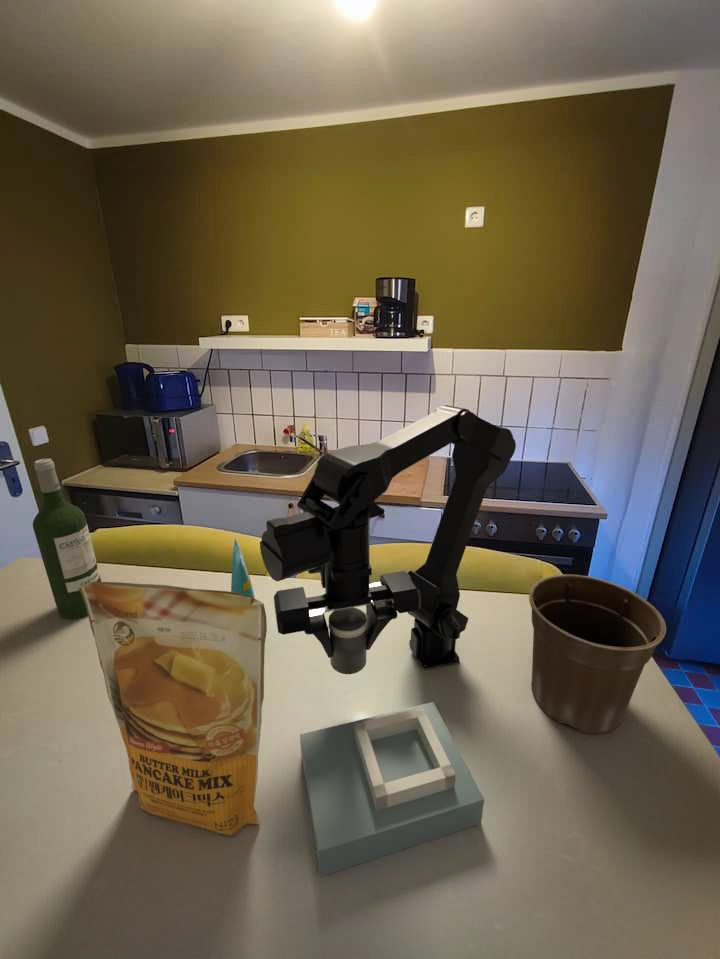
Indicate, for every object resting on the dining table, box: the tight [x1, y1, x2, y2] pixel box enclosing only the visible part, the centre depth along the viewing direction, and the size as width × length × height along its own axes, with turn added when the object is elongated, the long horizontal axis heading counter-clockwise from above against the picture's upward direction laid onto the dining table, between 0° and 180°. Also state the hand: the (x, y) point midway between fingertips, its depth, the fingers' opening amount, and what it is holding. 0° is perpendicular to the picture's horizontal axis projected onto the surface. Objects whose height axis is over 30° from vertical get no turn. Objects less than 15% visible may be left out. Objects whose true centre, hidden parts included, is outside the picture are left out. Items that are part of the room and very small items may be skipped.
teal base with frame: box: [299, 701, 485, 878], centre depth 50 cm, size 18×13×6 cm
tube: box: [230, 536, 256, 599], centre depth 70 cm, size 7×5×19 cm, turn 27°
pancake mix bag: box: [78, 581, 268, 837], centre depth 45 cm, size 7×19×28 cm, turn 76°
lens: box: [328, 607, 367, 675], centre depth 58 cm, size 5×5×7 cm
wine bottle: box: [32, 458, 102, 620], centre depth 79 cm, size 8×8×30 cm
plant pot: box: [528, 573, 667, 735], centre depth 60 cm, size 16×16×16 cm
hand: (348, 651), depth 59 cm, fingers closed on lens, 5 cm apart
